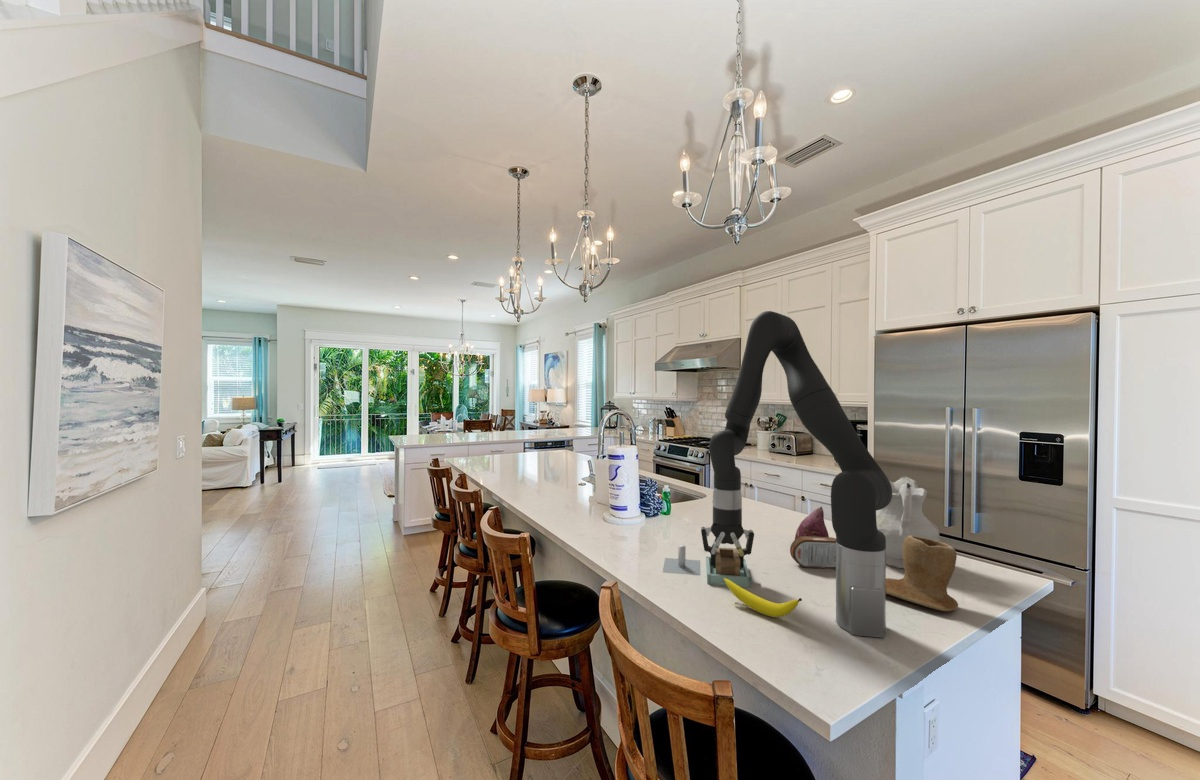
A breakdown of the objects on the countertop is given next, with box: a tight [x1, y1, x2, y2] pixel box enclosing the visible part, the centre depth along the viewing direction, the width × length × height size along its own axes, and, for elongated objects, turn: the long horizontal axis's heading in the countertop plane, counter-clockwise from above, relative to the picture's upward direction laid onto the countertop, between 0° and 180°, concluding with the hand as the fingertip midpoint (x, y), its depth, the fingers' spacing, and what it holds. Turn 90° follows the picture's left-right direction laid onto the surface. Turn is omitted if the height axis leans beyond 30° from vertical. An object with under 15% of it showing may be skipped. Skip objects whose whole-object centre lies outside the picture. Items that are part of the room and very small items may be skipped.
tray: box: [705, 556, 752, 588], centre depth 125 cm, size 14×11×3 cm
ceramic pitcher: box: [876, 475, 940, 569], centre depth 135 cm, size 22×20×25 cm
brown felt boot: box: [886, 535, 959, 612], centre depth 111 cm, size 15×12×15 cm
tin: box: [789, 536, 836, 570], centre depth 132 cm, size 15×3×8 cm, turn 84°
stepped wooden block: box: [715, 547, 740, 576], centre depth 125 cm, size 9×6×4 cm, turn 168°
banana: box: [724, 578, 802, 618], centre depth 105 cm, size 3×19×6 cm, turn 41°
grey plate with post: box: [662, 544, 701, 576], centre depth 131 cm, size 11×10×6 cm
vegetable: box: [794, 506, 830, 540], centre depth 149 cm, size 10×10×15 cm
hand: (727, 567), depth 125 cm, fingers closed on stepped wooden block, 5 cm apart
